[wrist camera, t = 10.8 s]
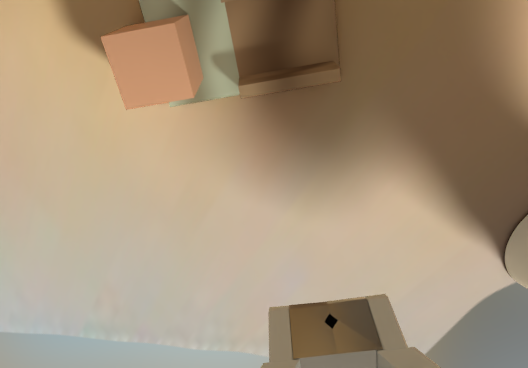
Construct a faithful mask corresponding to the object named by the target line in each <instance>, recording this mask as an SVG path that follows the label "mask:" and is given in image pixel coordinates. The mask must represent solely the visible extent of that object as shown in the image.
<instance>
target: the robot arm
mask: <svg viewBox="0 0 528 368" xmlns="http://www.w3.org/2000/svg"><path fill="white" fill-rule="evenodd" d="M505 265H506V268H507V271H508V273H509V274H510V276H511V277H512V278H513V279H514V280H515V281H516V282H518V283H519V284H521V285H522V286H524V287H525V288H527V289H528V215H527V216H526V217H525V218H524V219H523V220H522V221H521V222H520V223H519V225H518V226H517V227H516V229H515V230H514V232H513V233H512V235H511V237H510V239H509V241H508V244H507V247H506V251H505ZM261 368H441V367H439V366H438V365H437V364H436V363H434V362H433V361H432V360H430V359H429V358H428V357H427V356H425V355H424V354H423V353H421V352H420V351H419V350H418V349H416V348H415V347H409V348H408V346H407V344H406V341H405V339H404V336H403V334H402V331H401V329H400V326H399V324H398V321H397V319H396V316H395V314H394V311H393V309H392V306H391V304H390V301H389V299H388V297H387V296H386V295H385V294H381V295H373V296H366V297H357V298H349V299H342V300H334V301H327V302H319V303H308V304H297V305H289V306H280V307H270V308H269V363H263V365H262V367H261Z"/></svg>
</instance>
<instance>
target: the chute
mask: <svg viewBox="0 0 528 368" xmlns="http://www.w3.org/2000/svg"><path fill="white" fill-rule="evenodd" d="M139 3H140V7H141V10H142V14H143V17H144V20H145V22H150V21H155V20H161V19H166V18H171V17H177V16H182V15H187V14H188V15H189V20H190V24H191V28H192V32H193V36H194V40H195V44H196V48H197V52H198V57H199V61H200V65H201V69H202V73H203V77H204V78H203V80H202V82H201V84H200V86H199V88H198V91H197V93H196V95H195V97H194V98H190V99H185V100H179V101H173V102H169V105H170V107H173V106H179V105H185V104H190V103H196V102H202V101H208V100H213V99H219V98H225V97H231V96H236V95H240V98H241V99H242V98H247V97H253V96H259V95H265V94H270V93H276V92H282V91H288V90H293V89H299V88H305V87H311V86H316V85H322V84H328V83H334V82H339V81H341V74H340V67H339V53H338V39H337V25H336V11H335V0H139Z"/></svg>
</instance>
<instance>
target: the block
mask: <svg viewBox="0 0 528 368" xmlns="http://www.w3.org/2000/svg"><path fill="white" fill-rule="evenodd" d="M101 40H102V43H103V46H104V49H105V51H106V54H107V57H108V60H109V63H110V66H111V68H112V71H113V74H114V77H115V80H116V83H117V85H118V88H119V91H120V94H121V97H122V100H123V102H124V105H125V108H126V110H127V109H133V108H139V107H145V106H150V105H156V104H162V103H167V102H173V101H179V100H185V99H190V98H194V97H195V95H196V93H197V91H198V88H199V86H200V84H201V82H202V80H203V78H204V77H203V73H202V69H201V65H200V61H199V57H198V52H197V48H196V44H195V40H194V36H193V32H192V28H191V24H190V20H189V15H188V14H187V15H182V16H177V17H171V18H166V19H161V20H155V21H150V22H145V23H140V24H134V25H129V26H125V27H123V28H121V29H118V30H116V31H113V32H111V33H108V34H106V35H104V36H101Z"/></svg>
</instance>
